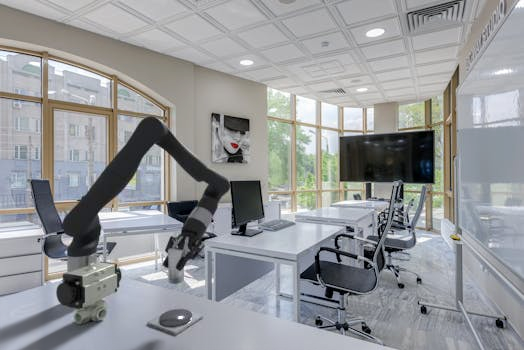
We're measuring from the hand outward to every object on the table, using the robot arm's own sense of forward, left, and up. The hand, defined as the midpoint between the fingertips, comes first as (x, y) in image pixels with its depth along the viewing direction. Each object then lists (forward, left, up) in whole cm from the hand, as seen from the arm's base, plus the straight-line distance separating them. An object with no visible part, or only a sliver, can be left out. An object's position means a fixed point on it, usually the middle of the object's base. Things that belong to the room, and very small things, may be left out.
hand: (171, 267), depth 92 cm
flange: (0, +2, -17) cm, 17 cm away
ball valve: (-24, -10, -18) cm, 31 cm away
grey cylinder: (0, +2, -5) cm, 5 cm away
